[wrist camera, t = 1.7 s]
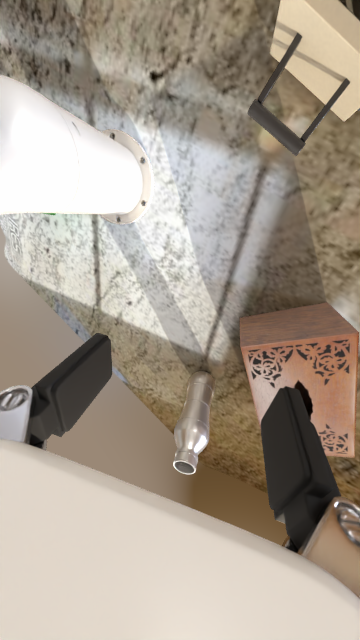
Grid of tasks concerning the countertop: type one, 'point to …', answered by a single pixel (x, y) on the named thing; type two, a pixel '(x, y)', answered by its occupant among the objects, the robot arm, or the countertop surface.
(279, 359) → the tissue box cover
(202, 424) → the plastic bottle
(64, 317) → the countertop surface
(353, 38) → the cabinet drawer
